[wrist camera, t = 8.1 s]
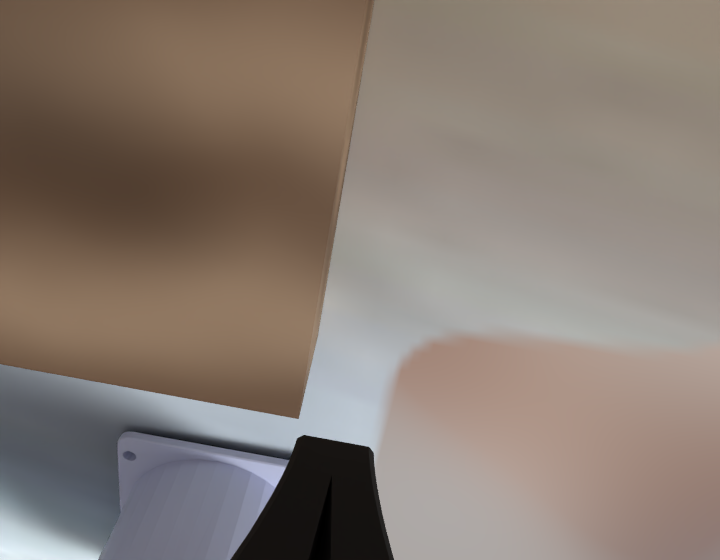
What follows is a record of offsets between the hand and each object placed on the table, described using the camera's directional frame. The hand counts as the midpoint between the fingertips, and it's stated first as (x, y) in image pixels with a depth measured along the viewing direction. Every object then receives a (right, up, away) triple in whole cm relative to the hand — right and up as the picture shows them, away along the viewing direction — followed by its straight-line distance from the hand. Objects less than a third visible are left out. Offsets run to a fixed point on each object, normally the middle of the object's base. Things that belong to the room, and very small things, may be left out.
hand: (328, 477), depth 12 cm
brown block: (-6, +8, +7) cm, 12 cm away
